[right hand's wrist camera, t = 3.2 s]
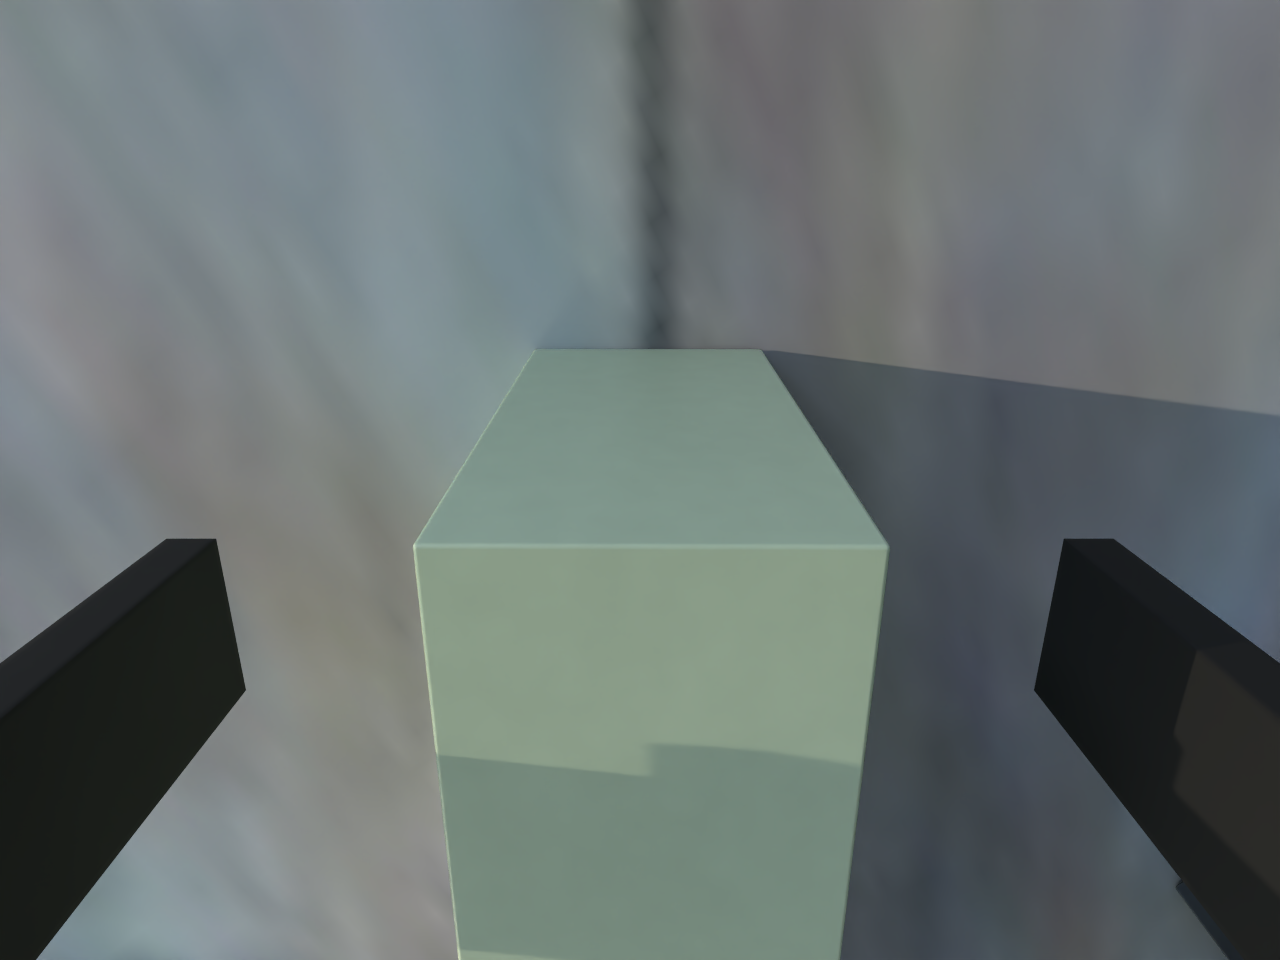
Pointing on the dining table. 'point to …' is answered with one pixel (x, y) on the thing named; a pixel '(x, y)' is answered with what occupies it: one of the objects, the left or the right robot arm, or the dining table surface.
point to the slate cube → (1208, 923)
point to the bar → (650, 665)
